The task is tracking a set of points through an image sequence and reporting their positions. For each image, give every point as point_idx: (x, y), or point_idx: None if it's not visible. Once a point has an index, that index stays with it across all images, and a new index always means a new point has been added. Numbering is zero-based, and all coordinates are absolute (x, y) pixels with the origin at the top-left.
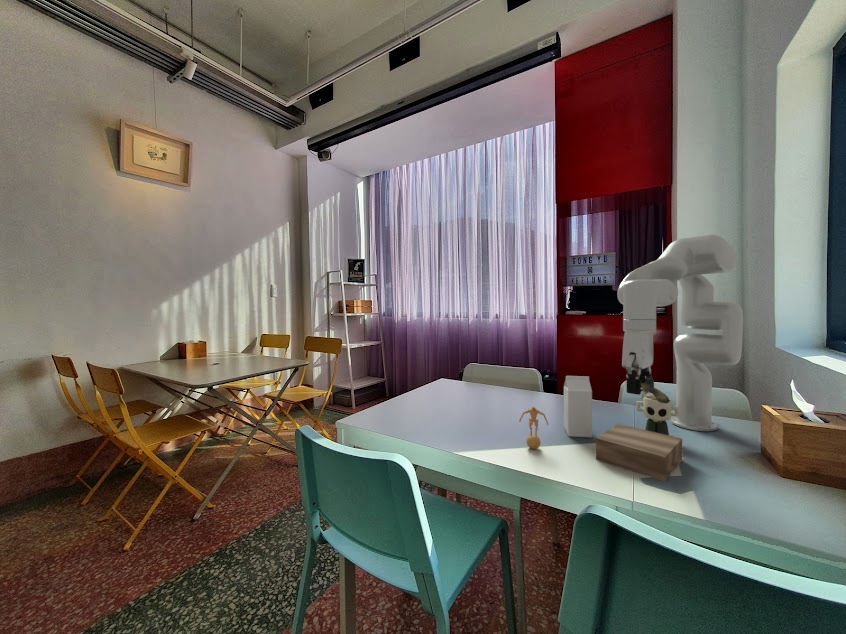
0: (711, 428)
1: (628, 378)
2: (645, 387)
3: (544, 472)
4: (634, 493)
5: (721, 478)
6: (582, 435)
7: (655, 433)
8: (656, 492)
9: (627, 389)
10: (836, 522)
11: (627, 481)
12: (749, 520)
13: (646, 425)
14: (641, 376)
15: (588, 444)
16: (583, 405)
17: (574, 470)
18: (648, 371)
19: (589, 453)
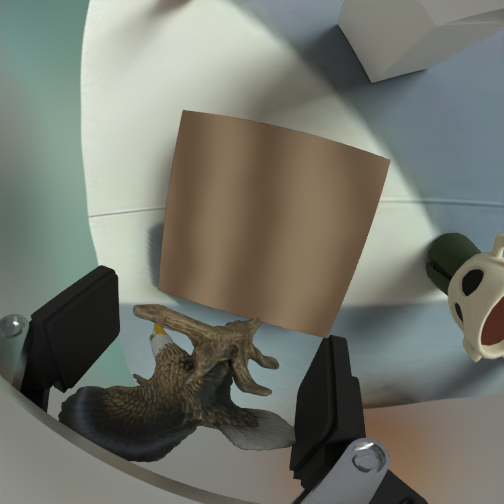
0: (502, 356)
1: (23, 325)
2: (155, 383)
3: (93, 62)
4: (106, 216)
5: (264, 352)
6: (358, 56)
7: (339, 278)
8: (131, 249)
9: (89, 277)
10: None
11: (138, 200)
12: (142, 348)
13: (465, 246)
14: (315, 425)
15: (309, 79)
16: (387, 18)
17: (125, 98)
18: (300, 495)
19: (239, 93)
